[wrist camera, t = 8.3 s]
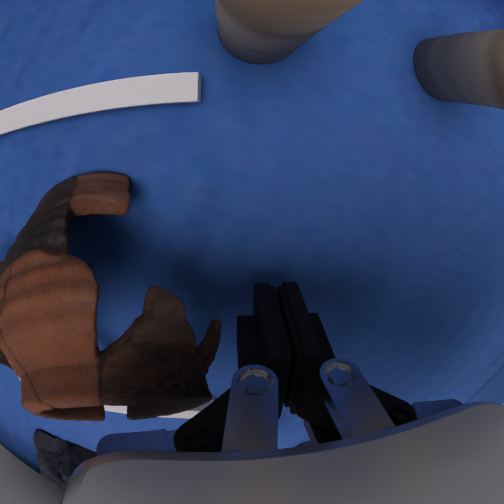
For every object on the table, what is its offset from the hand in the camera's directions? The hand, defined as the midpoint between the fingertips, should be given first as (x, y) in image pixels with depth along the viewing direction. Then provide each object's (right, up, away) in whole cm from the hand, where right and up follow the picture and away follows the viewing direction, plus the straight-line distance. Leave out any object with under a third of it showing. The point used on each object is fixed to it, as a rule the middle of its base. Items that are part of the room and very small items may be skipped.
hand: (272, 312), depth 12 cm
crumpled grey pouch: (-23, -26, +14) cm, 37 cm away
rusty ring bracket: (-8, +1, 0) cm, 8 cm away
